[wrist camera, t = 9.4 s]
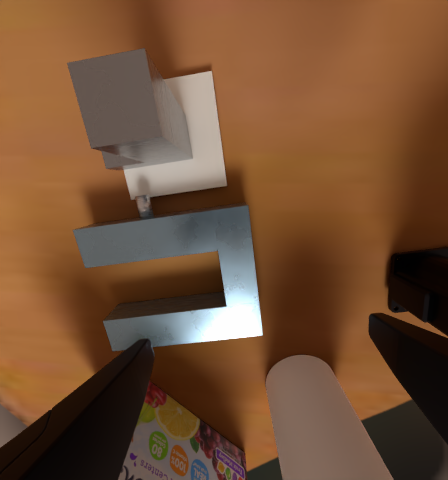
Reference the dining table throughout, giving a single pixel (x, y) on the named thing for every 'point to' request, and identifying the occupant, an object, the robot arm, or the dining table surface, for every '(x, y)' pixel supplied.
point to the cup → (318, 425)
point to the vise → (176, 244)
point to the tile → (201, 139)
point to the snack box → (178, 445)
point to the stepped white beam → (130, 111)
